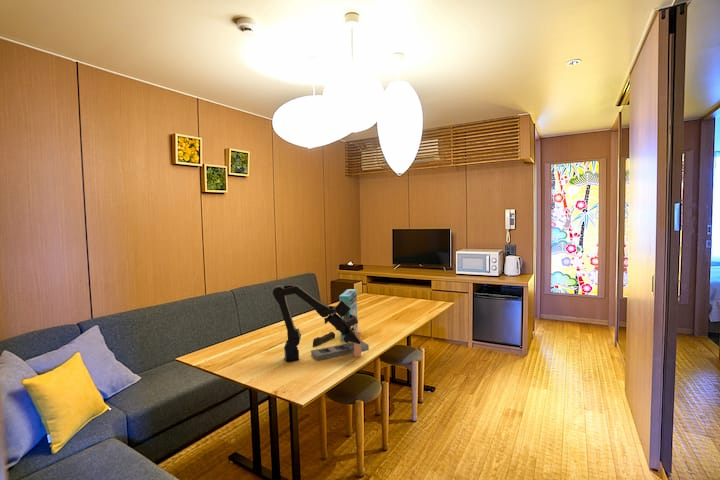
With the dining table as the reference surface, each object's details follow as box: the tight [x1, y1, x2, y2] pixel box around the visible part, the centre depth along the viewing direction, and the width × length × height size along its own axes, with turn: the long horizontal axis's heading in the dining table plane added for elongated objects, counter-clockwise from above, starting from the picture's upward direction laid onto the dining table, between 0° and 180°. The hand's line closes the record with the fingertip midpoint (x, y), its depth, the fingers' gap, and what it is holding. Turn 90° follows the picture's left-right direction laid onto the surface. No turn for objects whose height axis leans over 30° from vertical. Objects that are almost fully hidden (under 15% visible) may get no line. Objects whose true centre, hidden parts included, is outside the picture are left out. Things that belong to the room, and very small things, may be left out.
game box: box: [338, 288, 359, 343], centre depth 230 cm, size 20×6×27 cm, turn 168°
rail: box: [310, 340, 370, 361], centre depth 204 cm, size 30×9×2 cm, turn 117°
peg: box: [353, 329, 362, 358], centre depth 199 cm, size 4×4×13 cm
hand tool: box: [312, 331, 336, 348], centre depth 222 cm, size 19×4×5 cm, turn 146°
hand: (359, 342), depth 199 cm, fingers closed on peg, 3 cm apart
